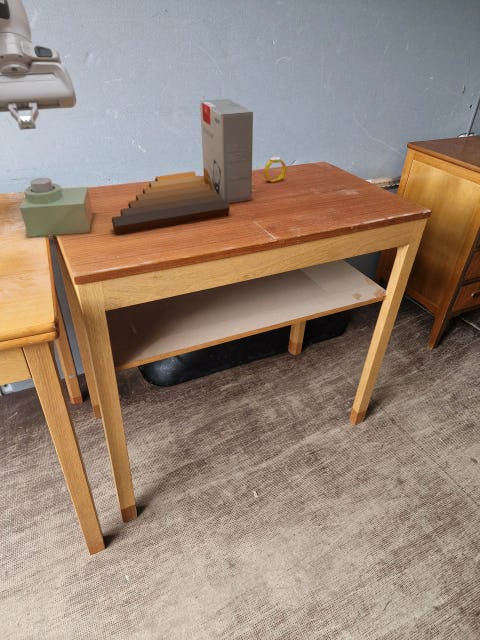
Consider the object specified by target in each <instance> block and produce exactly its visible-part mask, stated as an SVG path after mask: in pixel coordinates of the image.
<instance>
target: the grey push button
mask: <svg viewBox="0 0 480 640" xmlns="http://www.w3.org/2000/svg"><path fill="white" fill-rule="evenodd" d="M29 183H30V186H31V187H32V191H33V192H34V193H44V192H49V191H51V190H53V185H52V183H53V182H52V179H51V178H49V177H38V178H33V179H31V180H30V181H29Z"/></svg>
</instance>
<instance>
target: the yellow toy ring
mask: <svg viewBox="0 0 480 640" xmlns="http://www.w3.org/2000/svg"><path fill="white" fill-rule="evenodd" d="M273 163H276V164H277V163H280V164H281V168H282V169H281V173H280V175H279V176H277V177H276V178H272V179H270V177H269V168H270V166H271V165H273ZM286 165H287V164H286V163H285V162H284V160H282V158H281V157H279V156H272V157H269V160H268V161H267V163H265V166H264V169H263V175H264V177H265V179H266V180H267V181H268V182H270V183H275V182H280V181H282V180H283V179H284V177H285V175H286V172H287V166H286Z"/></svg>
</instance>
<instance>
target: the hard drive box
mask: <svg viewBox="0 0 480 640" xmlns="http://www.w3.org/2000/svg"><path fill="white" fill-rule="evenodd" d="M199 105H200V124H201V125H200V126H201V148H202V169H203V171H202V172H203V180H204V181H205V184H206V185H207V184H209V185H210V188H211V189H215V191H216V194H221V197H222V199H223V200H224V199H227V202H228V204H234V203H241V202H247V201H252V190H253V189H252V188H253V141H254V139H253V138H254V137H253V136H254V135H253V134H254V127H253V126H254V111H252V110H250V109H248V108H246V107H245V106H243V105H241V104H239V103H237V102H235V101H233V100H232V99H229V98H223V99H208V100H200V101H199Z"/></svg>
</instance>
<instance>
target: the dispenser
mask: <svg viewBox="0 0 480 640" xmlns="http://www.w3.org/2000/svg"><path fill="white" fill-rule="evenodd" d="M52 185H53V190H51V191H49V192H44V193H34V192H33V191H32V187H31V185H30V186H28V187H26V188H25V189H24V191H23V193H24V196H25V197H24V199H23V201H22V203H21V205H20V206H19V211H20V214H21V217H22V221H23V224H24V228H25V231H26V234H27V237H28V238H34V237H35V238H36V237H47V236H48V237H49V236H61V235H62V236H63V235H73V234H74V235H75V234H85V233H90V231H91V228H92V227H91V226H92V221H93V216H94V212H93V207H92V203H91V197H90V192H89V188H88V186H80V187H79V186H78V187H62V186H61V185H60V184H58V183H53V182H52Z"/></svg>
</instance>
